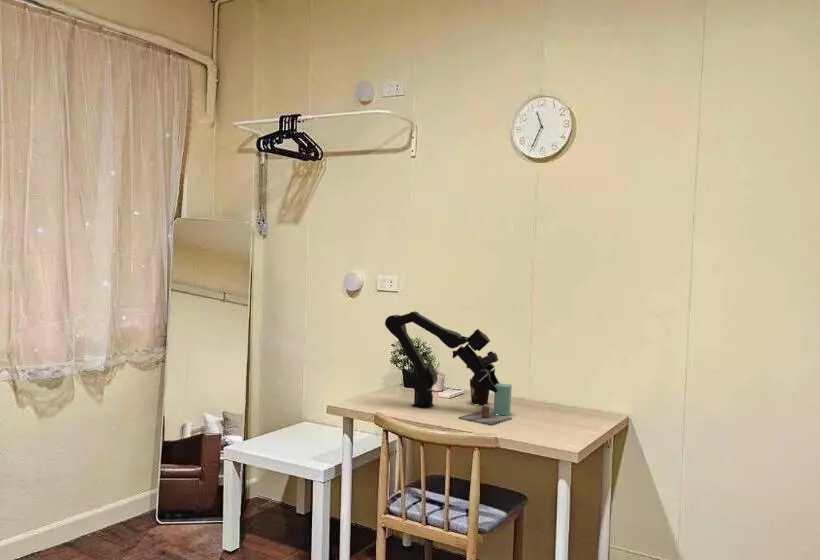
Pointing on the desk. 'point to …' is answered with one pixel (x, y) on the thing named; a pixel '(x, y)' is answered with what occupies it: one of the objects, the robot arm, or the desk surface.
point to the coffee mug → (478, 393)
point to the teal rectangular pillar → (502, 399)
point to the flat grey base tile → (485, 417)
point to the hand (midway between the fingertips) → (498, 389)
